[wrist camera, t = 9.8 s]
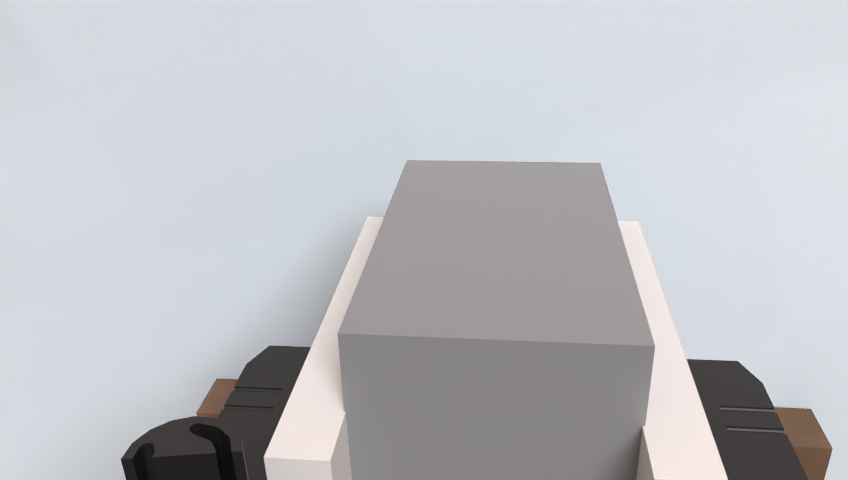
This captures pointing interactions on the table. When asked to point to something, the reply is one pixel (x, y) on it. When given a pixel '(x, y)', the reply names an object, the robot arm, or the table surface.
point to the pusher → (496, 330)
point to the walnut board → (795, 421)
